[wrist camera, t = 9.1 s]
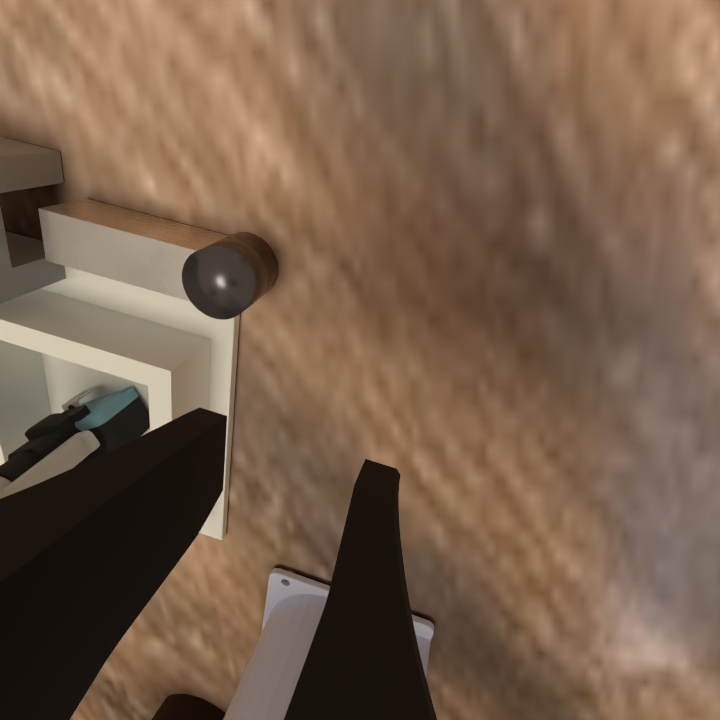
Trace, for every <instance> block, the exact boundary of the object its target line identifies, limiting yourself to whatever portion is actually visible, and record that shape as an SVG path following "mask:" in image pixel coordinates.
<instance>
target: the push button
mask: <svg viewBox="0 0 720 720" xmlns="http://www.w3.org/2000/svg"><path fill="white" fill-rule="evenodd" d="M97 388H98V386H94V387H91V388H88V389H86V390H84V391H82V392H81V393H79V394H78V395H76V396H75V397H73V398H72V399H70V400H69V401H67V403H65V404H63V405H62V406H61V407H62V409H63V410H64V412H62V413H55V414H51V415H48V416H47V417H45V418H44V419H42V420H41V421H39V422H38V423H36V424H35V425H33V426H32V427H31V428H29V429H28V430H27V431H26V432H25V436H26V437H27V439H28V440H29V441H28V442H26V443H25V444H23V445H22V446H21V447H19V448H18V449H16V450H15V451H13V452H12V453H11V454H9V455H8V461H6V462H5V463H4V464H2V465H1V466H0V499H1V498H3V497H6V496H8V495H11V494H14V493H16V492H19V491H21V490H24V489H26V488H28V487H31V486H33V485H36V484H38V483H40V482H43V481H45V480H47V479H49V478H52V477H54V476H56V475H58V474H61V473H63V472H65V471H68V470H70V469H72V468H74V467H77V466H79V465H81V464H84V463H86V462H88V461H90V460H93V459H95V458H97V457H99V456H101V455H103V454H105V453H107V452H110V451H112V450H114V449H116V448H118V447H120V446H122V445H124V444H126V443H128V442H130V441H132V440H134V439H136V438H138V437H140V436H142V435H143V434H144V433H145V432H146V431H147V430H148V429H149V428H150V418H149V411H148V409H147V408H146V406H145V405H144V403H143V402H142V400H141V399H140V397H139V396H138V394H137V393H136V391H135V390H134V388H133V387H132V386H131V387H128V388H125V389H124V390H121V391H118V392H115V393H112V394H109V395H106V396H103V397H100V398H97V399H94V400H91V401H88V402H85V403H82V404H80V403H79V399H82V398H84V397H85V396H86V395H88V394H89V393H91V392H92V391H94V390H95V389H97Z"/></svg>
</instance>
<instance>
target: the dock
mask: <svg viewBox="0 0 720 720" xmlns="http://www.w3.org/2000/svg"><path fill="white" fill-rule="evenodd" d="M60 183H64V180H63V172H62V164H61V155H60V151H56V150H52V149H48V148H44V147H40V146H36V145H32V144H28V143H24V142H20V141H16V140H12V139H8V138H4V137H0V193H3V192H10V191H16V190H22V189H28V188H35V187H41V186H47V185H54V184H60ZM239 320H240V314H239V315H238V316H236V317H234V318H231V319H225V320H221V319H215V318H212V317H209V316H207V315H205V314H203V313H202V312H201V311H199V310H198V309H197V308H196V307H195V306H194V305H193V304H192V303H191V302H190V301H187V300H183V299H180V298H176V297H173V296H169V295H166V294H162V293H159V292H155V291H151V290H148V289H144V288H141V287H137V286H134V285H130V284H127V283H123V282H120V281H116V280H113V279H109V278H105V277H102V276H98V275H95V274H91V273H88V272H84V271H81V270H77V269H74V268H70V267H66V266H63V265H59V264H56V263H52V262H49V261H46V257H45V250H44V244H43V241H40V240H36V239H33V238H29V237H25V236H22V235H18V234H15V233H11V232H7V231H5V228H4V223H3V218H2V212H1V207H0V466H1V465H2V464H4V463H5V462H6V461H8V455H9V454H11V453H12V452H13V451H15V450H16V449H18V448H19V447H21V446H22V445H23V444H25V443H26V442H28V441H29V440H28V439H27V437H26V436H25V432H26V431H27V430H28V429H29V428H31V427H32V426H33V425H35V424H36V423H38V422H39V421H41V420H42V419H44V418H45V417H47V416H48V415H51V414H55V413H62V412H64V410H63V409H62V407H61V406H62V405H63V404H65V403H67V401H69V400H70V399H72V398H73V397H75V396H76V395H78V394H79V393H81V392H82V391H84V390H86V389H88V388H91V387H94V386H98V388H97V389H95V390H94V391H92V392H91V393H89V394H88V395H86V396H85V397H84V398H82V399H79V403H80V404H82V403H85V402H88V401H91V400H94V399H97V398H100V397H103V396H106V395H109V394H112V393H115V392H118V391H121V390H124V389H125V388H128V387H131V386H132V387H133V388H134V390H135V391H136V393H137V394H138V396H139V397H140V399H141V400H142V402H143V403H144V405H145V406H146V408H147V409H148V411H149V418H150V428H149V429H148V430H147V431H146V432H145V433H144V434H146V433H148V432H150V431H152V430H154V429H156V428H158V427H160V426H162V425H164V424H166V423H168V422H170V421H172V420H174V419H176V418H178V417H180V416H182V415H184V414H186V413H188V412H190V411H193V410H195V409H197V408H199V407H200V408H203V409H206V410H210V411H213V412H216V413H219V414H222V415H226V416H227V428H226V446H225V464H224V483H223V491H222V493H221V495H220V497H219V499H218V500H217V502H216V504H215V506H214V508H213V509H212V511H211V513H210V515H209V516H208V518H207V520H206V522H205V523H204V525H203V527H202V528H201V530H200V532H199V533H202V534H205V535H207V536H210V537H213V538H216V539H219V540H222V539H223V538H224V536H225V535H226V527H227V511H228V495H229V479H230V463H231V447H232V431H233V415H234V399H235V384H236V368H237V352H238V336H239ZM144 434H143V435H144Z"/></svg>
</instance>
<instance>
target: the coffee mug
mask: <svg viewBox="0 0 720 720" xmlns="http://www.w3.org/2000/svg"><path fill="white" fill-rule="evenodd" d="M224 717H225V713H224V712H223V711H222V710H220V709H219V708H217V707H216V706H214V705H212V704H211V703H209V702H207V701H205V700H202V699H200V698H197V697H194V696H190V695H185V694H174V695H171V696H169V697H167V698H166V699H165V701H164V702H163V704H162V705H161V707H160V708H159V710H158V711H157V712H156V714H155V715H154V717H153V718H152V720H223V719H224Z"/></svg>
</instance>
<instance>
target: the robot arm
mask: <svg viewBox="0 0 720 720" xmlns="http://www.w3.org/2000/svg"><path fill="white" fill-rule="evenodd" d="M226 428H227V416H226V415H222V414H219V413H216V412H213V411H210V410H206V409H203V408H200V407H199V408H197V409H195V410H193V411H190V412H188V413H186V414H184V415H182V416H180V417H178V418H176V419H174V420H172V421H170V422H168V423H166V424H164V425H162V426H160V427H158V428H156V429H154V430H152V431H150V432H148V433H146V434H144V435H142V436H140V437H138V438H136V439H134V440H132V441H130V442H128V443H126V444H124V445H122V446H120V447H118V448H116V449H114V450H112V451H110V452H107V453H105V454H103V455H101V456H99V457H97V458H95V459H93V460H90V461H88V462H86V463H84V464H81V465H79V466H77V467H74V468H72V469H70V470H68V471H65V472H63V473H61V474H58V475H56V476H54V477H52V478H49V479H47V480H45V481H43V482H40V483H38V484H36V485H33V486H31V487H28V488H26V489H24V490H21V491H19V492H16V493H14V494H11V495H8V496H6V497H3V498H1V499H0V720H70V718H71V716H72V715H73V713H74V711H75V710H76V708H77V707H78V705H79V703H80V702H81V700H82V699H83V697H84V695H85V694H86V692H87V690H88V689H89V687H90V686H91V684H92V682H93V681H94V679H95V678H96V676H97V674H98V673H99V671H100V669H101V668H102V666H103V665H104V663H105V661H106V660H107V658H108V657H109V656H110V654H111V653H112V651H113V650H114V648H115V647H116V645H117V644H118V643H119V641H120V640H121V638H122V637H123V635H124V634H125V633H126V631H127V630H128V629H129V627H130V626H131V625H132V623H133V622H134V621H135V619H136V618H137V616H138V615H139V614H140V612H141V611H142V610H143V608H144V607H145V606H146V604H147V603H148V602H149V600H150V599H151V598H152V596H153V595H154V594H155V592H156V591H157V590H158V588H159V587H160V586H161V584H162V583H163V581H164V580H165V579H166V577H167V576H168V575H169V573H170V572H171V571H172V569H173V568H174V567H175V565H176V564H177V563H178V561H179V560H180V558H181V557H182V556H183V554H184V553H185V552H186V550H187V549H188V548H189V546H190V545H191V543H192V542H193V541H194V539H195V538H196V536H197V535H198V533H199V532H200V530H201V528H202V527H203V525H204V523H205V522H206V520H207V518H208V516H209V515H210V513H211V511H212V509H213V508H214V506H215V504H216V502H217V500H218V499H219V497H220V495H221V493H222V491H223V483H224V464H225V446H226ZM399 480H400V474H399V472H398V471H397V469H396V468H392V467H389V466H386V465H383V464H380V463H376V462H373V461H370V460H367V459H365V462H364V464H363V466H362V468H361V471H360V473H359V476H358V478H357V480H356V483H355V486H354V490H353V494H352V498H351V502H350V506H349V511H348V515H347V519H346V523H345V527H344V531H343V536H342V540H341V544H340V548H339V552H338V556H337V561H336V565H335V569H334V573H333V577H332V581H331V586H329V585H326V584H323V583H320V582H317V581H314V580H312V579H309V578H306V577H303V576H300V575H297V574H294V573H292V572H289V571H286V570H283V569H280V568H274V569H273V570H272V571H271V573H270V575H269V581H268V589H267V596H266V603H265V610H264V618H263V625H262V632H261V636H260V638H259V640H258V642H257V645H256V647H255V649H254V651H253V654H252V656H251V658H250V660H249V663H248V665H247V667H246V669H245V672H244V674H243V676H242V678H241V681H240V683H239V685H238V687H237V690H236V692H235V694H234V696H233V699H232V701H231V703H230V705H229V708H228V710H227V712H226V714H225V717H224V719H223V720H437V718H436V714H435V711H434V707H433V704H432V700H431V696H430V692H429V689H428V685H427V681H426V676H427V668H428V659H429V650H430V642H431V639H432V636H433V634H434V625H433V623H431V622H430V621H428V620H426V619H423V618H420V617H417V616H415V615H412V614H411V608H410V603H409V598H408V592H407V586H406V579H405V572H404V565H403V557H402V549H401V540H400V529H399V511H398V492H399Z"/></svg>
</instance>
